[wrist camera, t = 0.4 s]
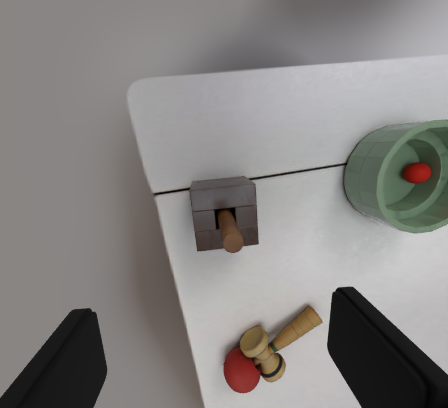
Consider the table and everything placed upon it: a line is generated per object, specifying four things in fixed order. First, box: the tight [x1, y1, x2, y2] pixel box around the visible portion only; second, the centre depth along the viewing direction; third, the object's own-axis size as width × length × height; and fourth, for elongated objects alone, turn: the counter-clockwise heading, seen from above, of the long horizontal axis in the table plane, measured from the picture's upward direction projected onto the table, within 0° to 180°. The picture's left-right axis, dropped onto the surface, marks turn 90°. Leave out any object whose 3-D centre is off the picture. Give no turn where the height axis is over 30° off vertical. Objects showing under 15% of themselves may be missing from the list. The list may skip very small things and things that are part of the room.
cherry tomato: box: [403, 162, 431, 184], centre depth 32 cm, size 3×3×3 cm
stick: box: [216, 208, 244, 253], centre depth 26 cm, size 2×2×14 cm
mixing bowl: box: [344, 119, 448, 233], centre depth 31 cm, size 14×14×7 cm
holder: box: [190, 176, 259, 251], centre depth 29 cm, size 7×7×7 cm
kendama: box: [224, 306, 322, 393], centre depth 37 cm, size 8×6×18 cm
